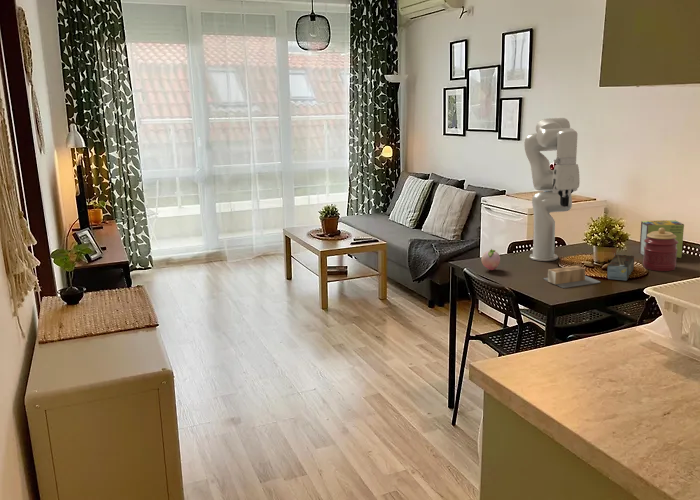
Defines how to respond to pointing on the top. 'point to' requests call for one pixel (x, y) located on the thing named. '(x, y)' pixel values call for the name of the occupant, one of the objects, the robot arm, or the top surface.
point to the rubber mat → (577, 282)
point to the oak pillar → (566, 274)
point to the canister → (660, 251)
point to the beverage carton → (620, 267)
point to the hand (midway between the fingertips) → (564, 205)
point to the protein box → (669, 226)
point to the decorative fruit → (491, 259)
